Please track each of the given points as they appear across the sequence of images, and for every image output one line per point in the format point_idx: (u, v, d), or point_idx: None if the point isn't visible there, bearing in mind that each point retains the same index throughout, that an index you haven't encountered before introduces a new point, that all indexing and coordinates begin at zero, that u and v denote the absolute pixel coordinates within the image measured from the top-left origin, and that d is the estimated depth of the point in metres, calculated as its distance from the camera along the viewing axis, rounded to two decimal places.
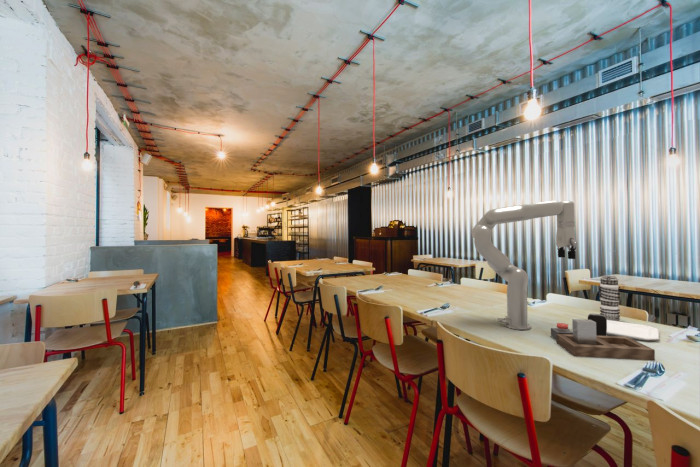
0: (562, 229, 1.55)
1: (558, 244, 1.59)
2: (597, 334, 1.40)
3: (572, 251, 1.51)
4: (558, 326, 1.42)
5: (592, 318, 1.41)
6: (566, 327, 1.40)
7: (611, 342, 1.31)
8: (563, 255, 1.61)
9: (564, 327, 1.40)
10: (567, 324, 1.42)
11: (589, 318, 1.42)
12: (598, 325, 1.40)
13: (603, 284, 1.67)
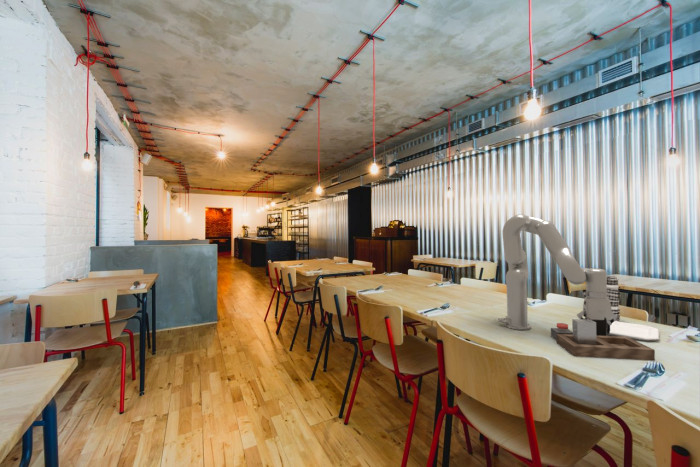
0: (605, 300, 1.39)
1: (596, 317, 1.40)
2: (597, 334, 1.40)
3: None
4: (558, 326, 1.42)
5: None
6: (566, 327, 1.40)
7: (611, 342, 1.31)
8: None
9: (564, 327, 1.40)
10: (567, 324, 1.42)
11: None
12: (598, 325, 1.40)
13: None
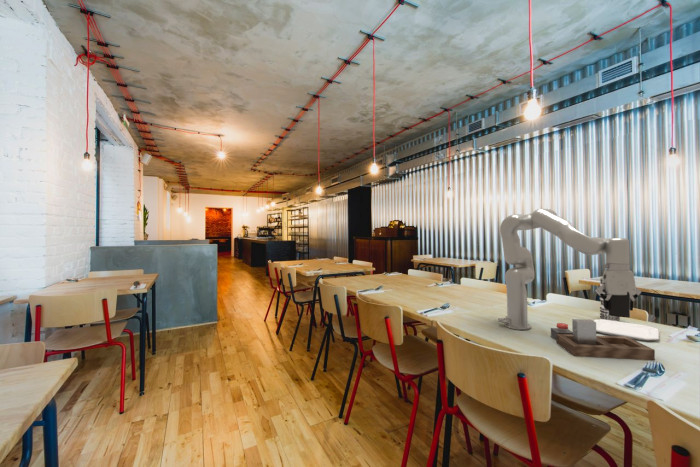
0: (628, 273, 1.23)
1: (617, 292, 1.24)
2: (619, 311, 1.25)
3: None
4: (558, 326, 1.42)
5: None
6: (566, 327, 1.40)
7: (611, 342, 1.31)
8: None
9: (564, 327, 1.40)
10: (567, 324, 1.42)
11: None
12: (620, 301, 1.25)
13: None
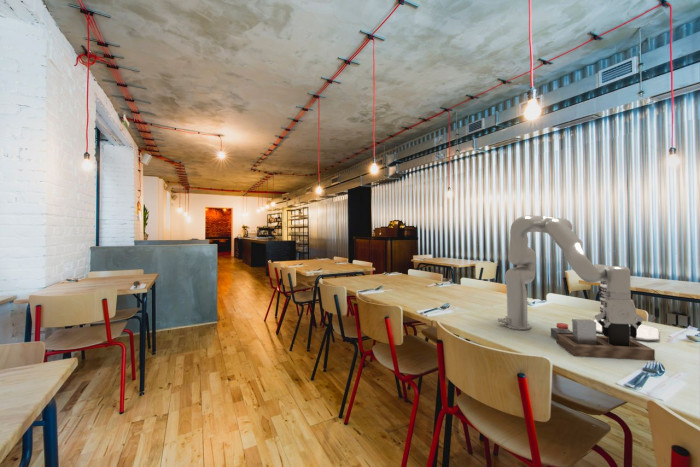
0: (629, 302, 1.23)
1: (618, 321, 1.24)
2: (619, 343, 1.25)
3: None
4: (558, 326, 1.42)
5: (613, 325, 1.26)
6: (566, 327, 1.40)
7: None
8: None
9: (564, 327, 1.40)
10: (567, 324, 1.42)
11: (610, 325, 1.27)
12: (620, 333, 1.25)
13: (603, 284, 1.67)
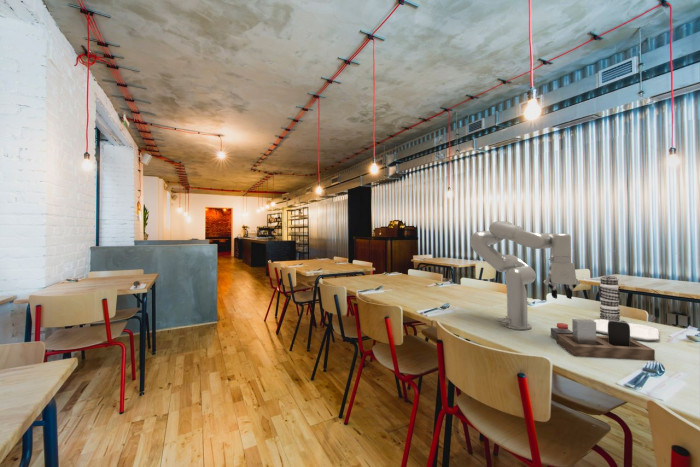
0: (569, 264, 1.39)
1: (560, 282, 1.40)
2: (619, 343, 1.25)
3: None
4: (558, 326, 1.42)
5: (613, 325, 1.26)
6: (566, 327, 1.40)
7: None
8: None
9: (564, 327, 1.40)
10: (567, 324, 1.42)
11: (610, 325, 1.27)
12: (620, 333, 1.25)
13: (603, 284, 1.67)
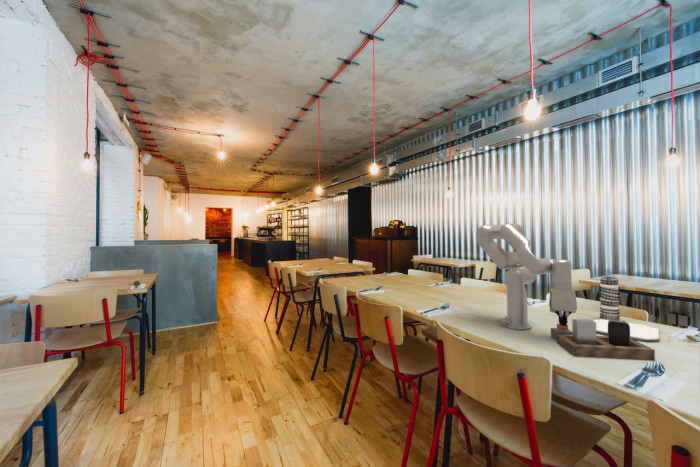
0: (570, 291, 1.39)
1: (561, 308, 1.39)
2: (619, 343, 1.25)
3: None
4: (558, 327, 1.42)
5: (613, 325, 1.26)
6: (566, 328, 1.40)
7: None
8: None
9: (564, 328, 1.40)
10: (567, 325, 1.42)
11: (610, 325, 1.27)
12: (620, 333, 1.25)
13: (603, 284, 1.67)
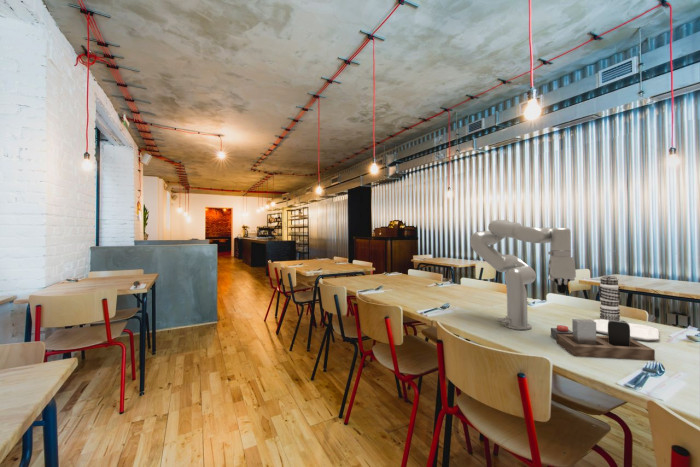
0: (569, 259, 1.39)
1: (560, 276, 1.40)
2: (619, 343, 1.25)
3: None
4: (558, 328, 1.42)
5: (613, 325, 1.26)
6: (566, 329, 1.40)
7: None
8: None
9: (564, 329, 1.40)
10: None
11: (610, 325, 1.27)
12: (620, 333, 1.25)
13: (603, 284, 1.67)
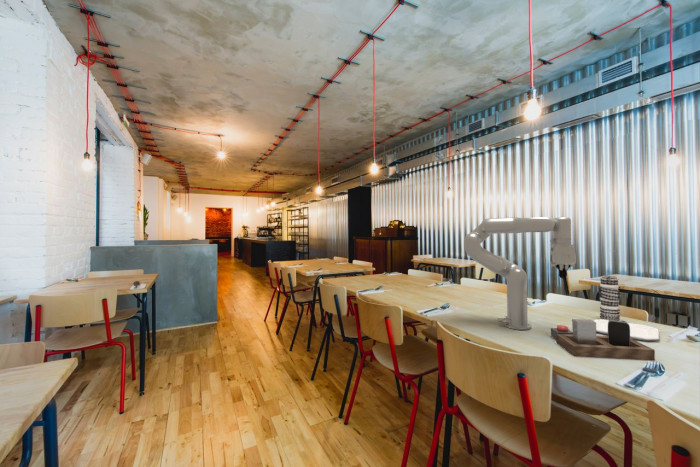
0: (569, 246, 1.50)
1: (561, 262, 1.50)
2: (619, 343, 1.25)
3: None
4: (558, 328, 1.42)
5: (613, 325, 1.26)
6: (566, 329, 1.40)
7: None
8: None
9: (564, 329, 1.40)
10: None
11: (610, 325, 1.27)
12: (620, 333, 1.25)
13: (603, 284, 1.67)
